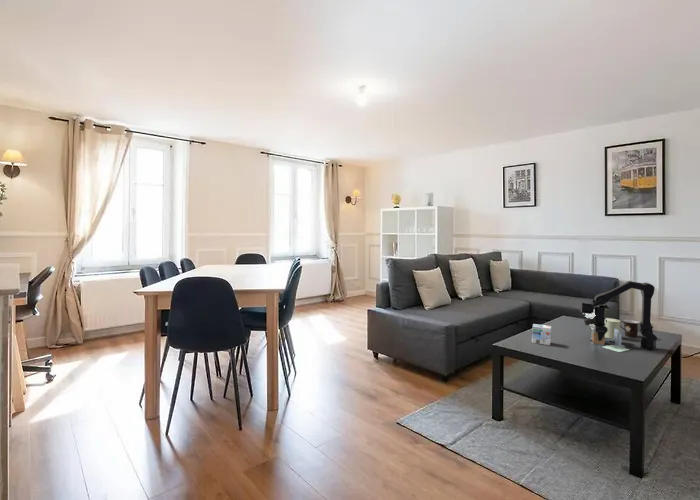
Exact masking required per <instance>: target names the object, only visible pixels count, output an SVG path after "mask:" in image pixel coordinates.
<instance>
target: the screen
mask: <svg viewBox="0 0 700 500" xmlns="http://www.w3.org/2000/svg"><path fill="white" fill-rule="evenodd" d="M622 336H623V335H622V333H621V331H620V332H619V331H618V330H617V329H615V330H614V339H610V342H612V343H614V344H613V345H615V346H619V347H623V348H626V346H625V345H624V344H622V339H623V337H622Z"/></svg>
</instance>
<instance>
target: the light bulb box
mask: <svg viewBox="0 0 700 500" xmlns="http://www.w3.org/2000/svg"><path fill="white" fill-rule="evenodd" d="M531 332H532V333H531V343H533V344H539V345H546V346H550V345H551V341H552V326H551V325H544V324H536V323H533V324H532V329H531Z"/></svg>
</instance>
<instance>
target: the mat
mask: <svg viewBox="0 0 700 500" xmlns="http://www.w3.org/2000/svg"><path fill="white" fill-rule="evenodd" d="M602 348H603V349H607V350H611V351H613V352H617V353H622V352H626V351H630V349H629V348H627V347H625V348H623V347H619V346H615V345H614V344H609V345H604V346H602Z"/></svg>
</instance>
